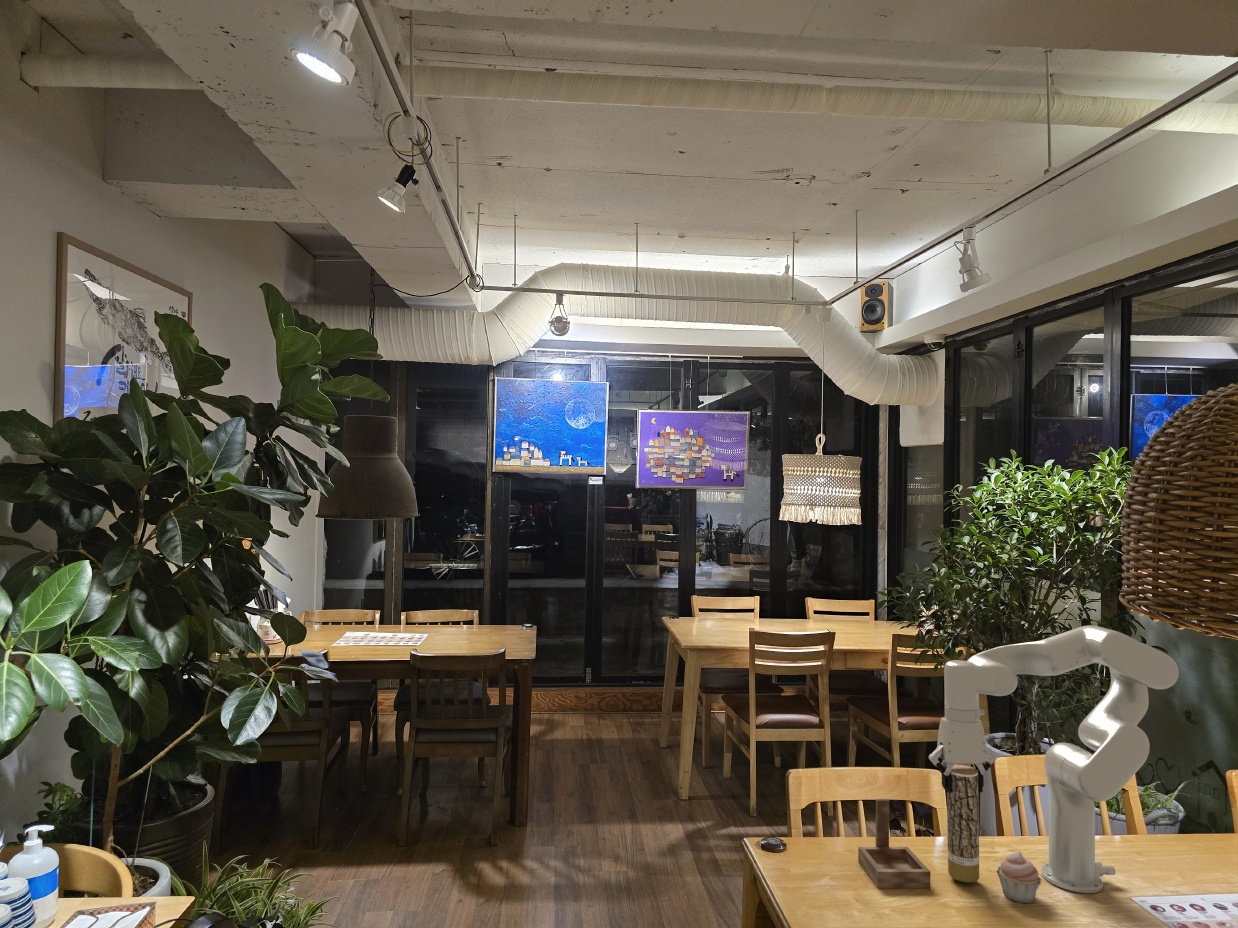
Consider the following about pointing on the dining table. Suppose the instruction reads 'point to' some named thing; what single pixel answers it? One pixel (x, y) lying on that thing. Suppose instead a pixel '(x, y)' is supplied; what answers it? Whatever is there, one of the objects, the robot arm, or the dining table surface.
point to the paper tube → (963, 824)
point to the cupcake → (1018, 878)
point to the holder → (891, 858)
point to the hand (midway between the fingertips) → (962, 789)
